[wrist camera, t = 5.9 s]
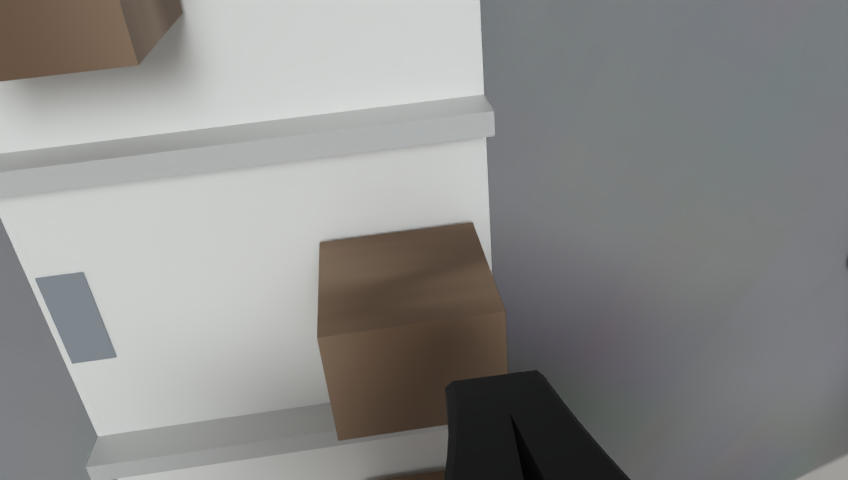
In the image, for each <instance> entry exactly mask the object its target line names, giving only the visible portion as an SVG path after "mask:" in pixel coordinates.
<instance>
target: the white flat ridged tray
mask: <svg viewBox="0 0 848 480" xmlns="http://www.w3.org/2000/svg"><path fill="white" fill-rule="evenodd" d="M180 4H181V8H182V12H183V13H182V14H181V16H180V17H179V18H178V19H177V20H176V22H175V23H174V24H173V25H172V26H171V27H170V29H169V30H168V31H167V32H166V33H165V35H164V36H163V37H162V38H161V39H160V40H159V42H158V43H157V44H156V45H155V46H154V48H153V49H152V50H151V51H150V52H149V53H148V55H147V56H146V57H145V58H144V59H143V61H142V62H141V63H140V64H139V65H138V66H129V67H120V68H112V69H103V70H95V71H86V72H78V73H69V74H61V75H52V76H43V77H35V78H26V79H18V80H9V81H1V82H0V218H1V220H2V222H3V224H4V227H5V229H6V231H7V233H8V236H9V238H10V240H11V242H12V245H13V247H14V249H15V251H16V254H17V256H18V258H19V260H20V263H21V265H22V267H23V269H24V272H25V274H26V276H27V278H28V281H29V283H30V285H31V287H32V289H33V292H34V294H35V296H36V298H37V301H38V303H39V305H40V307H41V310H42V312H43V314H44V316H45V319H46V321H47V323H48V325H49V328H50V330H51V332H52V334H53V337H54V339H55V341H56V343H57V346H58V348H59V350H60V352H61V355H62V357H63V359H64V361H65V364H66V366H67V368H68V370H69V372H70V375H71V377H72V379H73V381H74V384H75V386H76V388H77V390H78V393H79V395H80V397H81V399H82V402H83V404H84V406H85V408H86V411H87V413H88V415H89V417H90V420H91V422H92V424H93V426H94V429H95V431H96V433H97V435H98V438H97V440H96V443H95V445H94V448H93V450H92V453H91V456H90V458H89V461H88V463H87V466H86V469H87V471H88V473H89V476H90V478H91V480H111V479H117V480H384V479H390V478H397V477H403V476H410V475H416V474H423V473H430V472H436V471H443V470H445V468H446V460H447V447H448V425H442V426H435V427H429V428H422V429H415V430H409V431H402V432H395V433H388V434H382V435H375V436H368V437H361V438H355V439H348V440H341V441H338V437H337V432H336V428H335V423H334V418H333V413H332V408H331V403H330V399H329V394H328V389H327V384H326V379H325V374H324V370H323V365H322V360H321V355H320V350H319V345H318V341H317V318H318V281H319V245H320V242H327V241H335V240H342V239H350V238H357V237H365V236H373V235H380V234H388V233H395V232H403V231H410V230H418V229H425V228H433V227H440V226H448V225H455V224H463V223H470V222H473V224H474V227H475V230H476V232H477V235H478V238H479V240H480V243H481V246H482V249H483V251H484V254H485V257H486V259H487V262H488V265H489V268H490V270H491V273H492V262H491V240H490V218H489V195H488V173H487V151H486V137H489V136H495V126H494V110H493V109H492V107H491V105H490V104H489V102H488V100H487V99H486V97H485V95H484V84H483V62H482V40H481V17H480V0H180Z"/></svg>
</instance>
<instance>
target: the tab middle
mask: <svg viewBox="0 0 848 480" xmlns="http://www.w3.org/2000/svg"><path fill="white" fill-rule="evenodd" d="M317 341H318V345H319V350H320V355H321V360H322V365H323V370H324V374H325V379H326V384H327V389H328V394H329V399H330V403H331V408H332V413H333V418H334V423H335V428H336V432H337V437H338V441H341V440H348V439H355V438H361V437H368V436H375V435H382V434H388V433H395V432H402V431H409V430H415V429H422V428H429V427H435V426H442V425H448V423H447V409H446V396H445V388H446V387H447V386H448V385H449V384H450V383H451V382H452V381H457V380H464V379H472V378H480V377H488V376H495V375H503V374H508V362H507V333H506V311H505V308H504V305H503V303H502V300H501V297H500V295H499V292H498V289H497V286H496V284H495V281H494V278H493V276H492V273H491V270H490V268H489V265H488V262H487V259H486V257H485V254H484V251H483V249H482V246H481V243H480V240H479V238H478V235H477V232H476V230H475V227H474V224H473V222H470V223H463V224H455V225H448V226H440V227H433V228H425V229H418V230H410V231H403V232H395V233H388V234H380V235H373V236H365V237H357V238H350V239H342V240H335V241H327V242H320V245H319V281H318V318H317Z"/></svg>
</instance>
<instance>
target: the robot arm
mask: <svg viewBox="0 0 848 480" xmlns="http://www.w3.org/2000/svg"><path fill="white" fill-rule="evenodd" d="M445 396H446V409H447V423H448V447H447V460H446V468H445V475H444V480H630V479H629V478H628V477H627V475H626V474H625V473H624V472H623V471H622V470H621V469H620V468H619V467H618V466H617V465H616V463H615V462H614V461H613V460H612V459H611V458H610V457H609V456H608V455H607V454H606V452H605V451H604V450H603V449H602V448H601V447H600V446H599V444H598V443H597V442H596V441H595V440H594V439H593V438H592V436H591V435H590V434H589V433H588V432H587V430H586V429H585V428H584V427H583V426H582V424H581V423H580V422H579V421H578V420H577V418H576V417H575V416H574V415H573V413H572V412H571V411H570V410H569V408H568V407H567V406H566V405H565V403H564V402H563V401H562V400H561V398H560V397H559V396H558V394H557V393H556V392H555V390H554V389H553V388H552V386H551V385H550V384H549V382H548V381H547V379H546V378H545V377H544V376H543V375H542V374H541V373H540V372H538V371H537V370H534V371H526V372H519V373H511V374H503V375H495V376H488V377H480V378H472V379H464V380H457V381H452V382H451V383H450V384H449V385H448V386H447V387H446V388H445Z"/></svg>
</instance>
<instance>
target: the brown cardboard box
mask: <svg viewBox="0 0 848 480" xmlns="http://www.w3.org/2000/svg"><path fill="white" fill-rule="evenodd" d="M182 13H183V12H182V8H181V4H180V0H0V82H1V81H9V80H18V79H26V78H35V77H43V76H52V75H61V74H69V73H78V72H86V71H95V70H103V69H112V68H120V67H129V66H138V65H139V64H140V63H141V62H142V61H143V59H144V58H145V57H146V56H147V55H148V53H149V52H150V51H151V50H152V49H153V48H154V46H155V45H156V44H157V43H158V42H159V40H160V39H161V38H162V37H163V36H164V35H165V33H166V32H167V31H168V30H169V29H170V27H171V26H172V25H173V24H174V23H175V22H176V20H177V19H178V18H179V17H180V16H181V14H182Z"/></svg>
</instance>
